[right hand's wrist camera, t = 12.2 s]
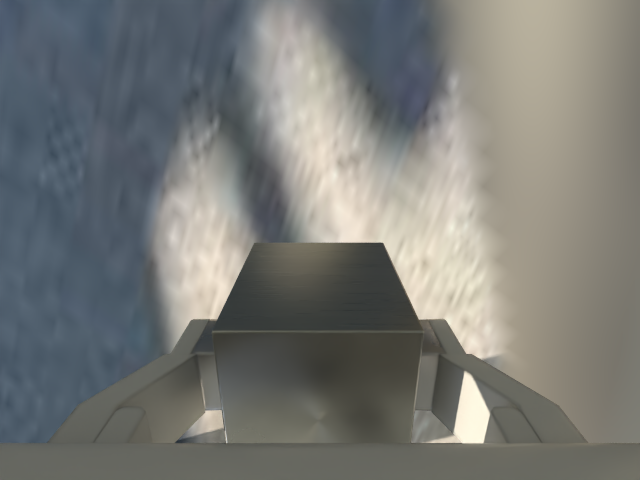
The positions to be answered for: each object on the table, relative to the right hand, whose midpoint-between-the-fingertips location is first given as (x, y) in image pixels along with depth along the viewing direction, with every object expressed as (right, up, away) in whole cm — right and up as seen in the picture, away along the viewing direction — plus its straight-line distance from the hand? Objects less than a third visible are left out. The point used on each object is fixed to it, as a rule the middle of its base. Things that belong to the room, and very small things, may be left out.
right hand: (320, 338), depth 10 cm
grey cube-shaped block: (0, +1, +2) cm, 2 cm away
